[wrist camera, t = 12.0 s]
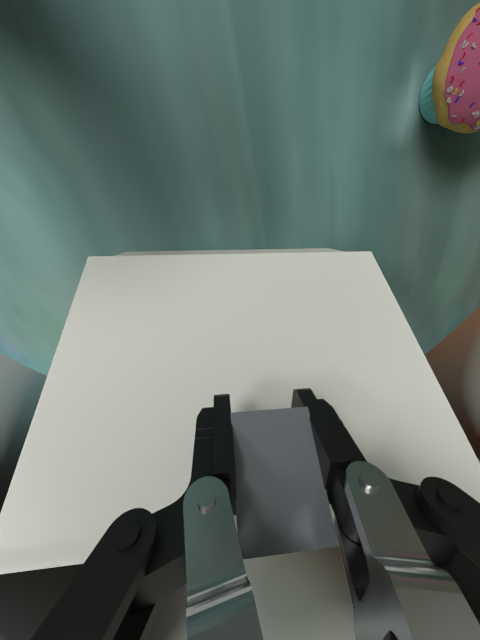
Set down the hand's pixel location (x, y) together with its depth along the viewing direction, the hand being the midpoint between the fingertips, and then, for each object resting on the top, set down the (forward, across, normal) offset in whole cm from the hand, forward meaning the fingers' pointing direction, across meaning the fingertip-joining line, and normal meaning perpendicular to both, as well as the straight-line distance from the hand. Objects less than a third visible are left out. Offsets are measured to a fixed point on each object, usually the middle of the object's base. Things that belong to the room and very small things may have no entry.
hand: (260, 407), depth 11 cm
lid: (+7, 0, +3) cm, 7 cm away
